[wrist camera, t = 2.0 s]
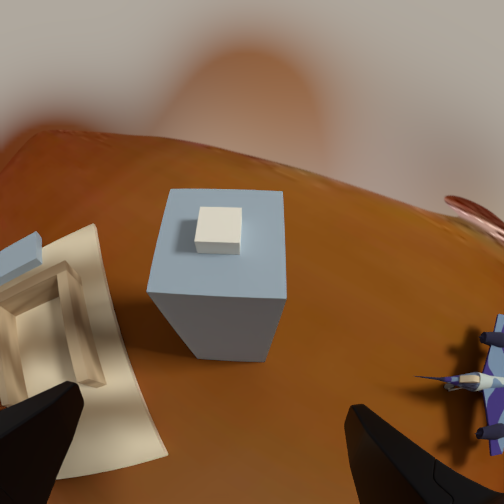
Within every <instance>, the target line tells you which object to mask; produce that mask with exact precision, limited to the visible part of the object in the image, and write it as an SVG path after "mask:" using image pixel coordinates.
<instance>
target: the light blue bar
mask: <svg viewBox="0 0 504 504" xmlns="http://www.w3.org/2000/svg"><path fill="white" fill-rule="evenodd" d="M40 265H42V238H41V237H40V235H39V234H38V233H37V232H34V233H32V234H30V235H29V236H27V237H25V238H23V239H21V240H19V241H18V242H16V243H14V244H12V245H10V246H9V247H7V248H5V249H4V250H2V251H0V286H1V285H3V284H5V283H7V282H9V281H11V280H12V279H14V278H16V277H18V276H20V275H22V274H24V273H26V272H28V271H30V270H32V269H34V268H36V267H38V266H40Z"/></svg>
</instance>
